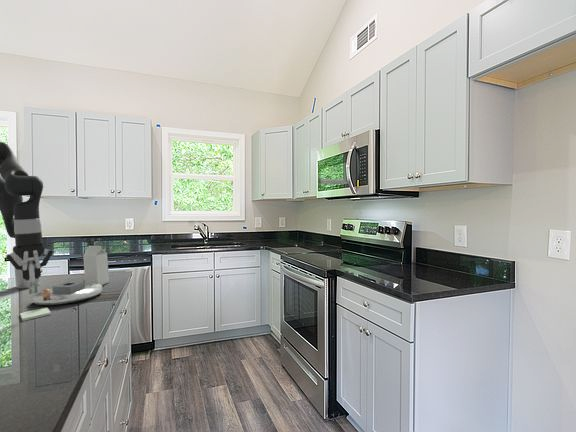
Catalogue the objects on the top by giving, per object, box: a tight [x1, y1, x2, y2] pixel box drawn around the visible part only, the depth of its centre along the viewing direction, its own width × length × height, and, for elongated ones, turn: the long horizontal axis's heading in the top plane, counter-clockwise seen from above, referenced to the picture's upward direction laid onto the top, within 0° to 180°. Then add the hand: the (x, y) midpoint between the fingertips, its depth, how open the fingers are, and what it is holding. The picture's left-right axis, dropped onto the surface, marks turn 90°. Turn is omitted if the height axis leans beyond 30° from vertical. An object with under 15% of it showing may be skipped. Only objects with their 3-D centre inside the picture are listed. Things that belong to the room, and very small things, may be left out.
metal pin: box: [25, 257, 38, 295], centre depth 115 cm, size 4×4×13 cm
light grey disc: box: [32, 281, 103, 306], centre depth 135 cm, size 24×24×6 cm
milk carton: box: [82, 245, 110, 286], centre depth 155 cm, size 7×7×19 cm
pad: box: [19, 307, 52, 322], centre depth 116 cm, size 8×8×1 cm
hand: (32, 279), depth 115 cm, fingers closed on metal pin, 2 cm apart
